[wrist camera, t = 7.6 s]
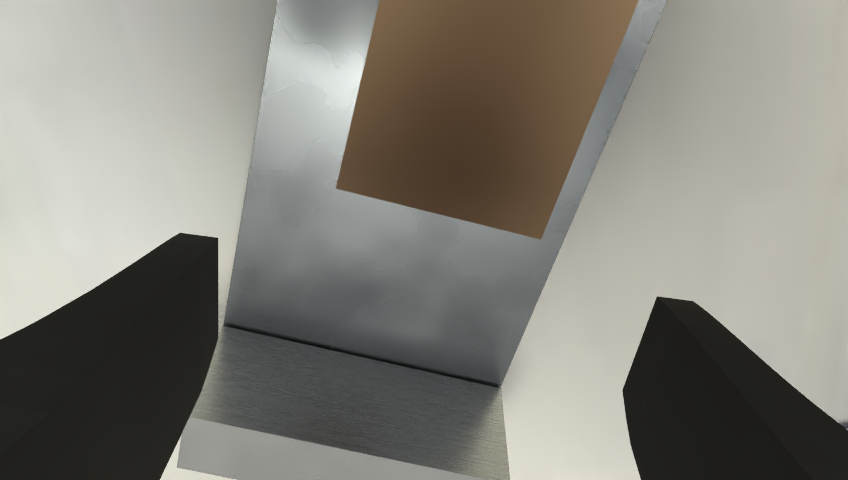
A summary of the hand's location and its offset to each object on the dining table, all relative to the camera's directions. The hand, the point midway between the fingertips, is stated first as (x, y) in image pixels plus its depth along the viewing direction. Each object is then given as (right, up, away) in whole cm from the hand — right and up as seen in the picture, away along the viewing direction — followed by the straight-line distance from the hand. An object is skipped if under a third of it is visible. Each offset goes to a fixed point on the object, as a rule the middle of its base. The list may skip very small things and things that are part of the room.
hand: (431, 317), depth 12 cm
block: (+1, +7, +6) cm, 9 cm away
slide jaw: (-3, -7, +14) cm, 16 cm away
